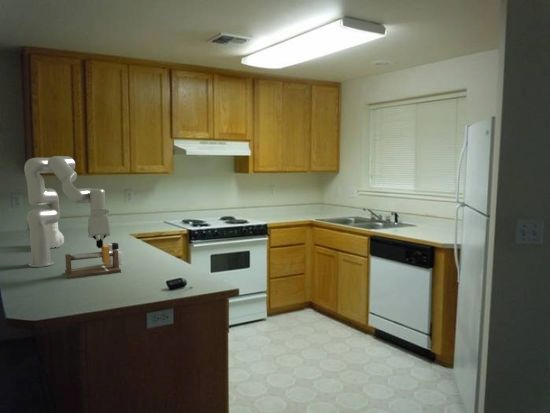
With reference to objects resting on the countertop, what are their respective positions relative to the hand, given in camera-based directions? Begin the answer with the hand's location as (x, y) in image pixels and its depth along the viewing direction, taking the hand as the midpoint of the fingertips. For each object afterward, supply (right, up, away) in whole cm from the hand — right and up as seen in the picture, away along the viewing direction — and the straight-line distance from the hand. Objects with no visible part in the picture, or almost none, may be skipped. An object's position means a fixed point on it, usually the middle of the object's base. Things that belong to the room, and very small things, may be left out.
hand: (99, 247), depth 240 cm
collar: (+2, -8, +2) cm, 9 cm away
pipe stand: (-3, -13, -1) cm, 13 cm away
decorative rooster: (-59, -7, +69) cm, 91 cm away
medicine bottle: (+1, -11, +18) cm, 22 cm away
